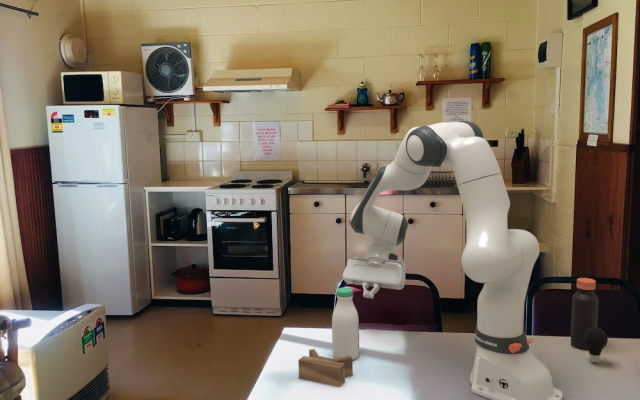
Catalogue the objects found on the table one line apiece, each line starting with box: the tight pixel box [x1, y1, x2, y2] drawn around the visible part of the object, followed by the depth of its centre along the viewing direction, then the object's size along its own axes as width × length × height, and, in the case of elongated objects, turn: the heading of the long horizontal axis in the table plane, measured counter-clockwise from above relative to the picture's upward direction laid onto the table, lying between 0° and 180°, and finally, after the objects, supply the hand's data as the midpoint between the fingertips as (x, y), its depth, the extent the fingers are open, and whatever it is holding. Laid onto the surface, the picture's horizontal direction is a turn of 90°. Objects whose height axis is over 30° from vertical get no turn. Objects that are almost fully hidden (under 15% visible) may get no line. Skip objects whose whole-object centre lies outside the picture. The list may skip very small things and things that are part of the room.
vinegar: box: [570, 277, 599, 351], centre depth 158 cm, size 7×7×20 cm
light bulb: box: [584, 326, 609, 364], centre depth 148 cm, size 6×6×10 cm
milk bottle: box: [331, 286, 360, 361], centre depth 155 cm, size 8×8×20 cm
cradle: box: [298, 348, 354, 387], centre depth 145 cm, size 8×13×5 cm, turn 63°
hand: (367, 297), depth 170 cm, fingers closed
